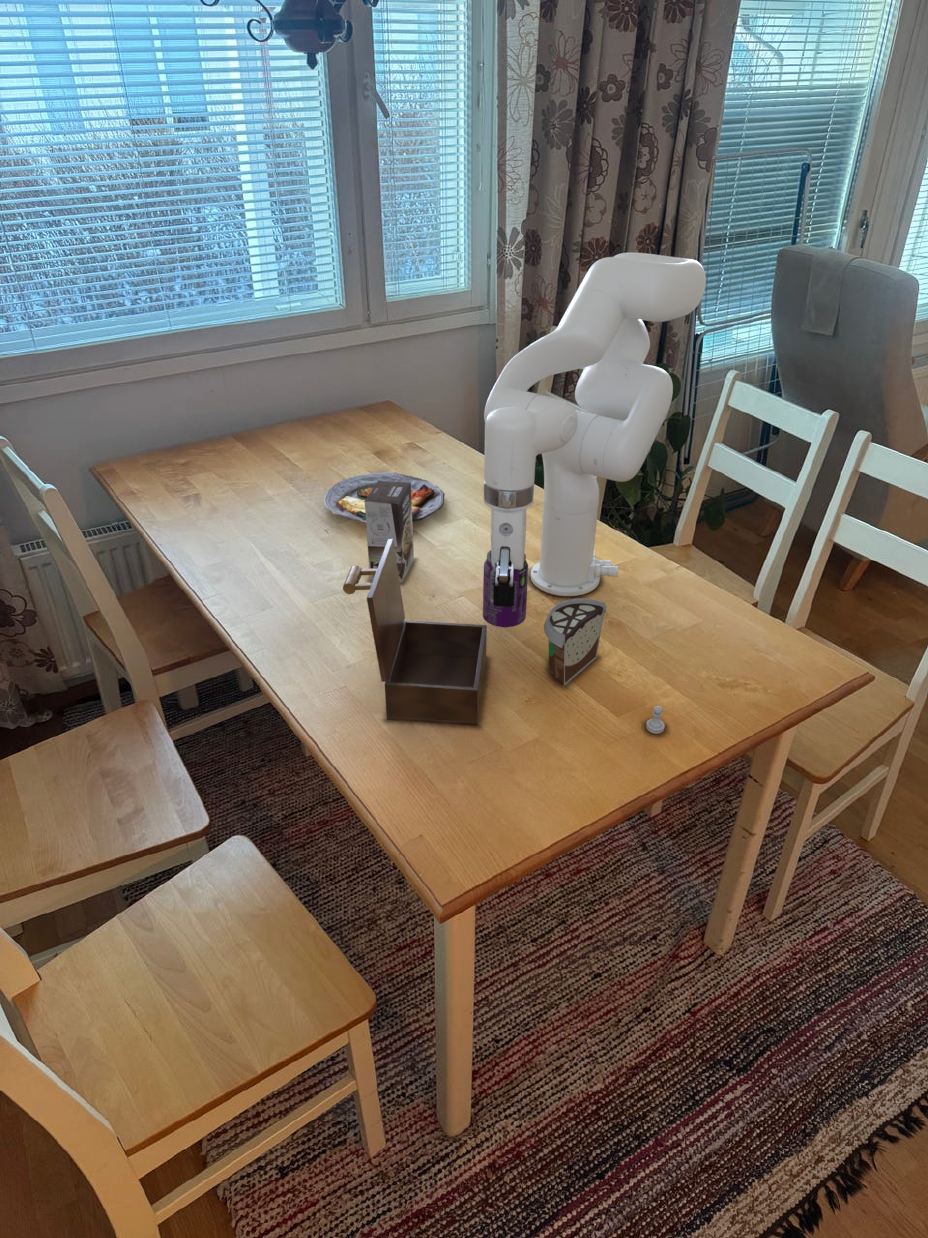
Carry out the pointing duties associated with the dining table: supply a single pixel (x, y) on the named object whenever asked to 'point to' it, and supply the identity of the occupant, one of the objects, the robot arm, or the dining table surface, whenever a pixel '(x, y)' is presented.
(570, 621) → the food container
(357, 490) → the food plate
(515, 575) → the beverage can
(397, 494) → the coffee box
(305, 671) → the dining table surface
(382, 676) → the lid
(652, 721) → the pawn
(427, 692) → the chest
